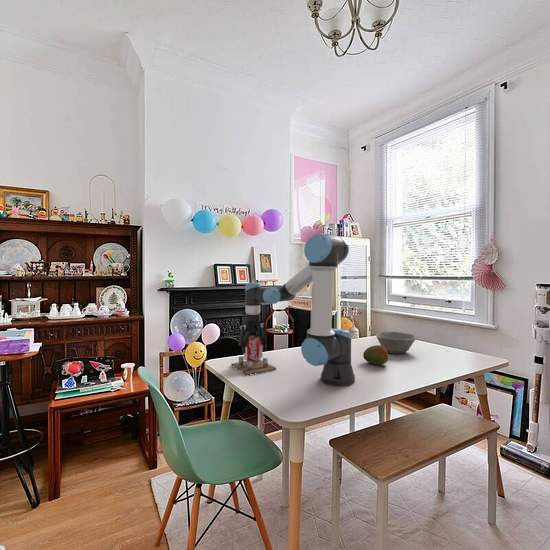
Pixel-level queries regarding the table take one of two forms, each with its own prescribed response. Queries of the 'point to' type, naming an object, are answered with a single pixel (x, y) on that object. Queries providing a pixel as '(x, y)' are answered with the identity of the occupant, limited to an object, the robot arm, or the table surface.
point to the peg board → (253, 366)
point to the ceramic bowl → (396, 341)
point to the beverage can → (253, 349)
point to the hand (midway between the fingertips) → (253, 358)
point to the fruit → (376, 355)
